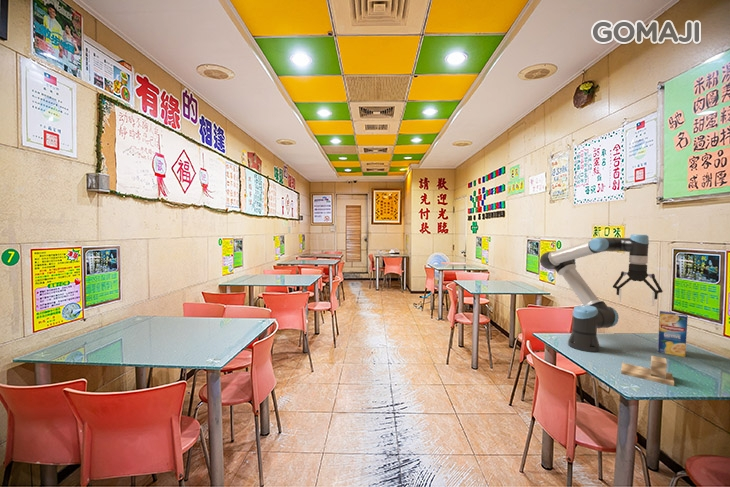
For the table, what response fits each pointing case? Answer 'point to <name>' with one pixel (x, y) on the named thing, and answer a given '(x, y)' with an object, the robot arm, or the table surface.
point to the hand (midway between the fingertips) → (635, 303)
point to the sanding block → (658, 367)
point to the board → (645, 374)
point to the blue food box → (672, 333)
